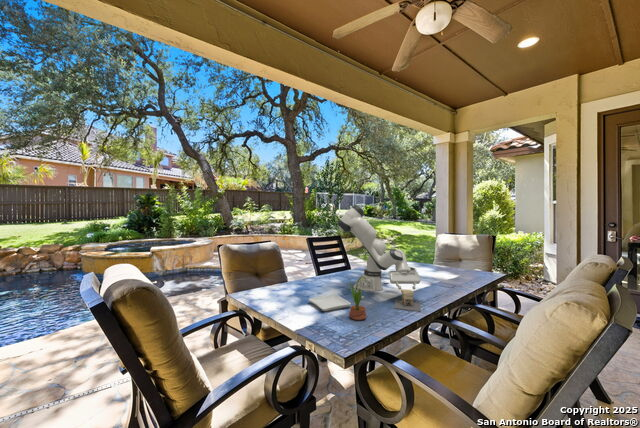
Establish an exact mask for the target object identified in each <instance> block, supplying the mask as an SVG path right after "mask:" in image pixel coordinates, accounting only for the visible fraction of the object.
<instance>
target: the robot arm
mask: <svg viewBox="0 0 640 428" xmlns="http://www.w3.org/2000/svg"><path fill="white" fill-rule="evenodd" d="M364 215H365V211H364V209H363V208H362V206H360V205H358V204H354V205H353V206H352V207H350V208H349V209H348V210H347V211H346V212H345V213H344V214H343V215H342V217H341V218H340V219H339V220H338V221H337V223H336V224H337V227H338V228H339V230H340V231H342V232H344V233H348V232H351V234H352V235H354V236H355V238H356V239H357V240H359V242H360V243H361V245H362V246H363V249H365V250H366V252H367V254H368V258H367V259H366V268H365V269H364V270H363V275H362V276H361V275H360V277H365V278H366V281H365V279H364V278H363V279H360V280H361V281H362V280H363V282H364V283H366V284H367V285H366V286H363V285H364V283H363V284H362V285H361V284H360V285H358V287H357V289H359V287H360V286H361V291H366V292H372V293H373V292H378V291H382V290H383V289H384V288H383V284H382V277H383V276H382V275H383V274H382V272H383V271H387V270H388V269H389V268H390V267H393V265H394V267H395V270H390V271H388V277H389V283H390V284H391V285H396V287H397V288H398V290H401V289H402V285H410V284H411V285H413V286H411V287H412V290H414V291H415V290H416V285H419V284H420V283H421V277H420V274H419V273H418V272H417V268H415V267H412V266H410V265H409V264H408V260H407V257H406V254H405V252H404V250H402V249H395V248H391V249H389V250H387V245H386V243H385V242H384V241H383V240H380V239H377V238H376V237H377V230H376V229H375V228H374V227H373V226H372V225H371V224H370V223H369V222H368V221H367V220H365V219H364V218H363V217H364ZM386 250H387V251H386ZM368 279H369V280H370V282H368V281H367V280H368ZM360 280H359V283H360V282H361V281H360ZM357 281H358V279H357ZM357 281H356V282H357ZM356 285H357V283H355V284H354V285H353V288H354V290H356Z"/></svg>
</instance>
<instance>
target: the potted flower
mask: <svg viewBox="0 0 640 428" xmlns="http://www.w3.org/2000/svg"><path fill="white" fill-rule="evenodd" d="M361 276H363V275H360V277H359V278H358V279H357V280H358V281H356V284H357V285H356V289H354V285H353V283H352V281H350V291H351V295H352V298H353V302H354V304H355V305H350V310H349V312H348V316H349V317H350V319H352V320H355V321H362V320H364V319H366V317H367V312H366V307H365V306H363V305H360V302H361V301H362V300H364V299H365V296H364V295H363V292H362V290H361V286H360V287H359V289H357V287H358V285H360V284H361V285H362V284H363V283H364V282H363V280H362V281H361V280H360V279H363V278H364V279H365V281H366V278H365V277H361ZM359 280H360V281H361V282H360V283H359ZM367 281H368V282H370V280H369V279H368V280H367ZM366 285H367V284H366V283H364V285H363V286H366Z"/></svg>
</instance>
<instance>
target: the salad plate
mask: <svg viewBox="0 0 640 428" xmlns="http://www.w3.org/2000/svg"><path fill="white" fill-rule="evenodd" d="M308 302H309V303H311V304H312V305H315V306H316V307H317V308H318V309H321V310H322V311H323V312H328V311H334V310H339V309H344V308H348V307H349V306H350V307H351V306H352V303H351V302H350V301H348V300H346V299H345V298H343V297H341V296H340V295H338V294H336V293H335V294H328V295H323V296H317V297H311V298H308Z"/></svg>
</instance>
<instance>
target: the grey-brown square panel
mask: <svg viewBox="0 0 640 428" xmlns="http://www.w3.org/2000/svg"><path fill="white" fill-rule="evenodd" d="M393 309H394V310H402V311H409V312H418V313H421V312H422V307H421V302H418V301H413V305H412V306H410V304H408V300H406V306H404V304H402V299H395V300H394V307H393Z"/></svg>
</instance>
